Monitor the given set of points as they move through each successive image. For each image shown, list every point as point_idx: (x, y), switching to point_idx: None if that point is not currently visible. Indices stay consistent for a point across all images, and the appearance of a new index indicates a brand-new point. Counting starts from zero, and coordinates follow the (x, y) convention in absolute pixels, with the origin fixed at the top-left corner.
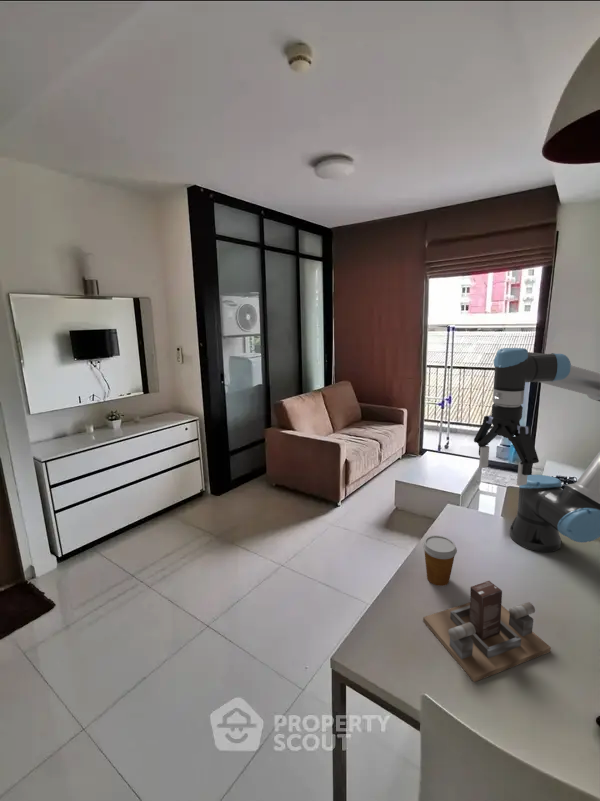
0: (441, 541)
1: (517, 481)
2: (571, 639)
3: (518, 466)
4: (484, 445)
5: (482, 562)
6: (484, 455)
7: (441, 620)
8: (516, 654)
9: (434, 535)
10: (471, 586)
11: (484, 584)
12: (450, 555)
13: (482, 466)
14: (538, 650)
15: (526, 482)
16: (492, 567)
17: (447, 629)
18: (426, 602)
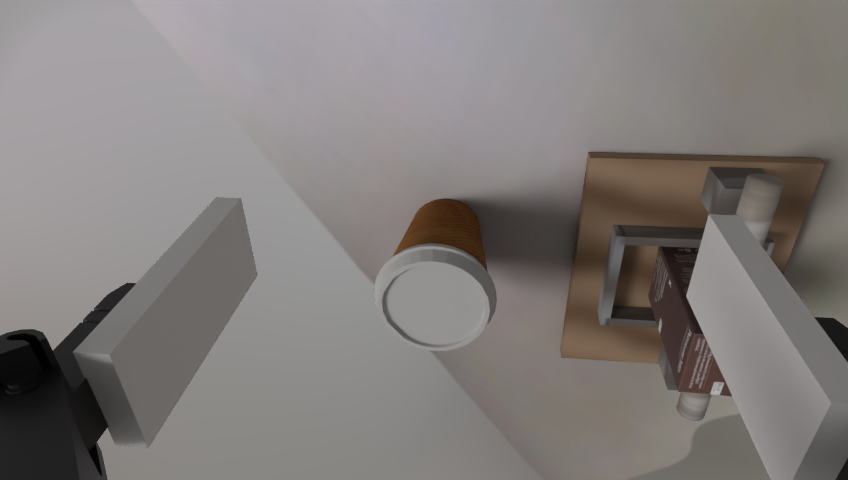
0: (418, 289)
1: (702, 319)
2: (842, 58)
3: (758, 451)
4: (87, 410)
5: (426, 24)
6: (191, 330)
7: (591, 331)
8: (773, 258)
9: (379, 292)
10: (678, 388)
11: (699, 358)
12: (493, 300)
13: (248, 266)
14: (805, 202)
15: (745, 229)
16: (466, 10)
17: (621, 337)
18: (512, 309)
